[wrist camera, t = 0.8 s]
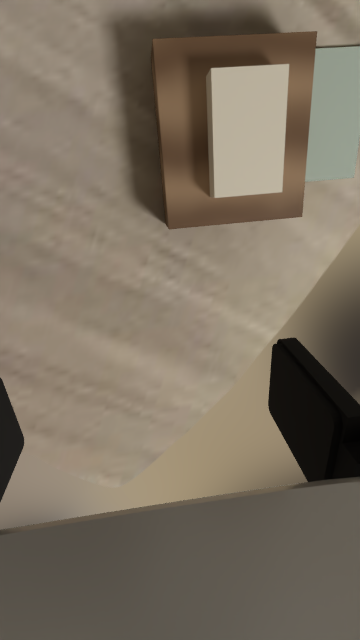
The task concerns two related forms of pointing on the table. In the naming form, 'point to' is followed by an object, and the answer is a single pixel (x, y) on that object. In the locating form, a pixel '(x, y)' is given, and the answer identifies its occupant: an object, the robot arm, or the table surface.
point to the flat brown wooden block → (192, 128)
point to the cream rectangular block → (246, 129)
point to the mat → (334, 114)
